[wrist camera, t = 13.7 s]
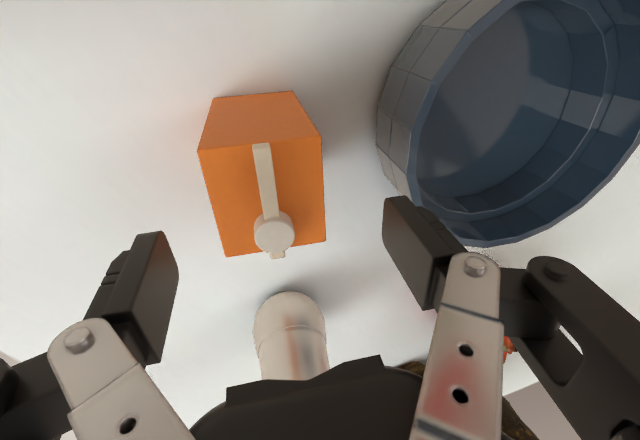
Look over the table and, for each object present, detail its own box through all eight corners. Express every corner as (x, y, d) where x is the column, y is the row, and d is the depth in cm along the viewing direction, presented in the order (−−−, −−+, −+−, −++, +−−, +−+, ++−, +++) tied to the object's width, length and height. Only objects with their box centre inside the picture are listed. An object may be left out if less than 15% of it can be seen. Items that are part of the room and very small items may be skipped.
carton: (212, 97, 20) (193, 159, 12) (292, 90, 21) (326, 143, 13) (230, 178, 23) (224, 272, 15) (299, 169, 24) (330, 254, 16)
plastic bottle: (316, 275, 30) (410, 603, 13) (321, 323, 34) (398, 626, 17) (245, 289, 29) (252, 657, 13) (258, 336, 33) (276, 667, 16)
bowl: (378, -20, 19) (428, -30, 14) (619, -31, 21) (737, -43, 16) (368, 218, 27) (396, 264, 23) (537, 192, 30) (596, 228, 25)
